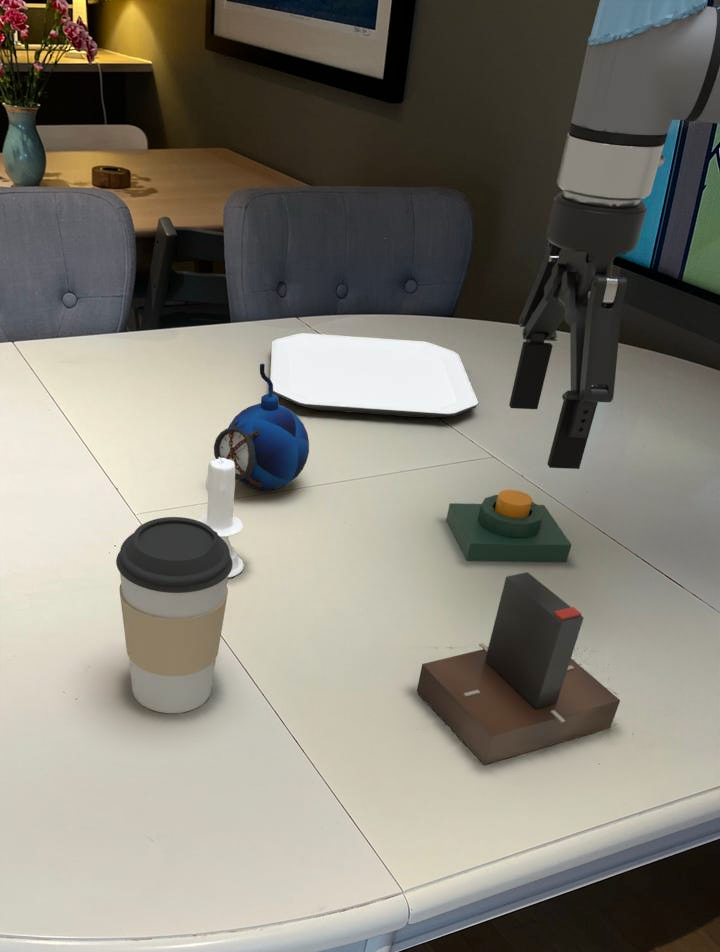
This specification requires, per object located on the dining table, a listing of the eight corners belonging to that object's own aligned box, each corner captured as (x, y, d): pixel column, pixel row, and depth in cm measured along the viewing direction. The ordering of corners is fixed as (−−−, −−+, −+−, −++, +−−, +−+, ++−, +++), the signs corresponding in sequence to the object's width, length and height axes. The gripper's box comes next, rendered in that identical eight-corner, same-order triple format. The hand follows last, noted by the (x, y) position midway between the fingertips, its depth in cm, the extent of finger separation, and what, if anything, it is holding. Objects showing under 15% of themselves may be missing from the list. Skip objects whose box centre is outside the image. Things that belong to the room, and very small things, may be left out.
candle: (187, 576, 99) (190, 466, 92) (196, 549, 103) (200, 443, 96) (239, 582, 98) (247, 472, 92) (246, 555, 103) (254, 449, 96)
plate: (271, 343, 157) (272, 330, 156) (452, 356, 157) (454, 342, 156) (268, 415, 134) (269, 399, 132) (481, 429, 134) (484, 414, 132)
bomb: (197, 484, 115) (202, 359, 107) (262, 459, 122) (271, 339, 113) (258, 516, 110) (267, 386, 101) (321, 488, 117) (336, 364, 108)
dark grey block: (484, 660, 85) (506, 573, 80) (505, 655, 86) (528, 569, 81) (535, 709, 80) (562, 620, 75) (557, 703, 81) (585, 614, 75)
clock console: (532, 657, 91) (540, 629, 89) (615, 732, 83) (626, 703, 81) (412, 687, 86) (418, 658, 84) (488, 769, 78) (496, 739, 76)
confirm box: (539, 521, 113) (548, 490, 111) (566, 562, 106) (576, 529, 103) (445, 520, 112) (452, 488, 110) (466, 561, 105) (473, 528, 102)
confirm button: (522, 504, 108) (526, 489, 107) (533, 520, 105) (536, 505, 104) (490, 503, 108) (494, 489, 107) (500, 519, 105) (503, 504, 104)
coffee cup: (106, 712, 81) (101, 554, 72) (133, 649, 88) (132, 499, 80) (214, 728, 80) (223, 571, 71) (232, 663, 87) (242, 513, 79)
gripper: (708, 235, 72) (626, 497, 84) (597, 169, 92) (543, 387, 104) (607, 230, 71) (539, 494, 84) (518, 164, 92) (473, 384, 104)
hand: (541, 435), depth 94 cm, fingers open, 13 cm apart
